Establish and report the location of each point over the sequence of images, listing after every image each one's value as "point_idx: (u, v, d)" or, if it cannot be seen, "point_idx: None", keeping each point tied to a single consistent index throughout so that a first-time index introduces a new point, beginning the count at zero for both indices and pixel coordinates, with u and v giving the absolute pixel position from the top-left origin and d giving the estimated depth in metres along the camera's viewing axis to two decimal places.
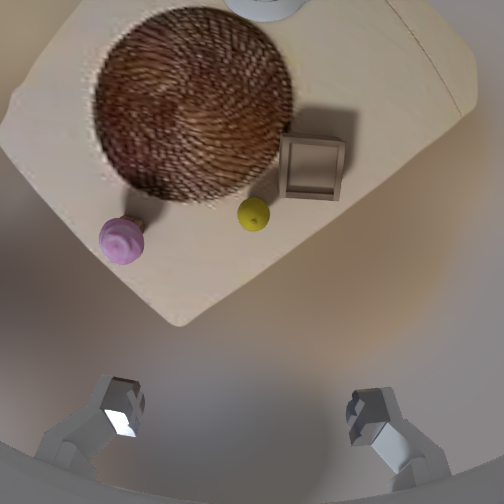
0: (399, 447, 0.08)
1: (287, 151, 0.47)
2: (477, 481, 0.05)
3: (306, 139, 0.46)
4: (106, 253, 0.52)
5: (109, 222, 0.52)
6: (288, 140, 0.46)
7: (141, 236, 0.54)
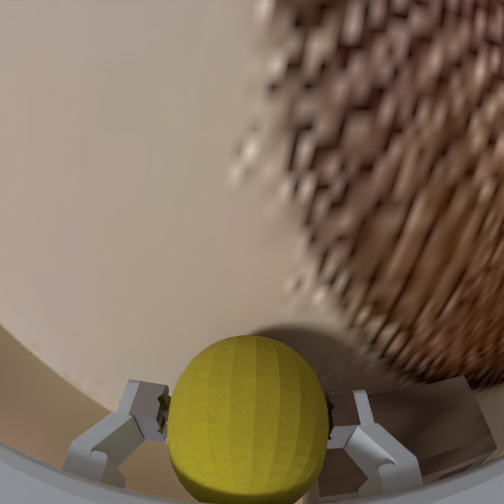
0: (370, 452, 0.08)
1: (458, 467, 0.10)
2: (477, 481, 0.05)
3: None
4: None
5: None
6: (483, 458, 0.10)
7: None
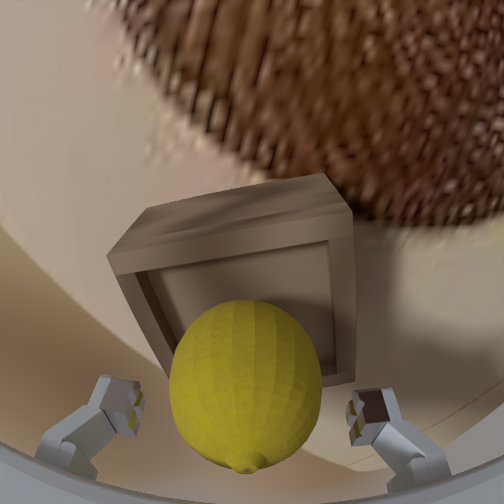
0: (399, 447, 0.08)
1: (294, 240, 0.12)
2: (477, 481, 0.05)
3: (352, 291, 0.13)
4: None
5: None
6: (340, 234, 0.12)
7: None
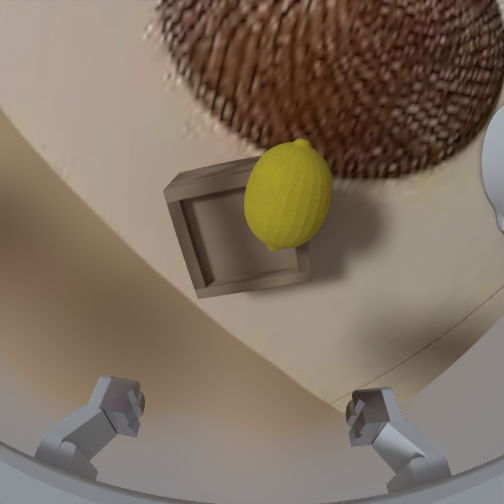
0: (399, 447, 0.08)
1: None
2: (477, 481, 0.05)
3: None
4: None
5: None
6: None
7: None
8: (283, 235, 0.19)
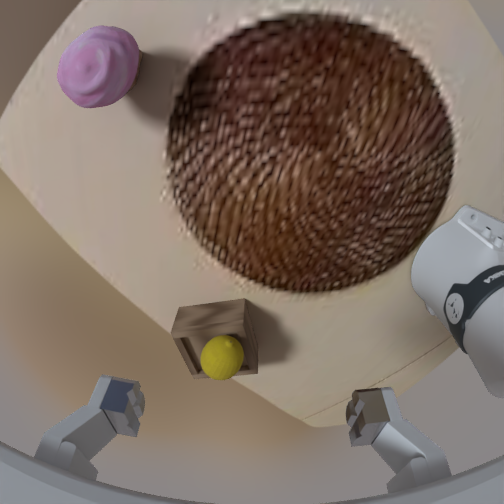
0: (399, 447, 0.08)
1: (227, 331, 0.40)
2: (477, 481, 0.05)
3: (247, 344, 0.41)
4: (75, 48, 0.21)
5: (131, 44, 0.23)
6: (240, 330, 0.40)
7: (107, 104, 0.26)
8: (214, 378, 0.39)
